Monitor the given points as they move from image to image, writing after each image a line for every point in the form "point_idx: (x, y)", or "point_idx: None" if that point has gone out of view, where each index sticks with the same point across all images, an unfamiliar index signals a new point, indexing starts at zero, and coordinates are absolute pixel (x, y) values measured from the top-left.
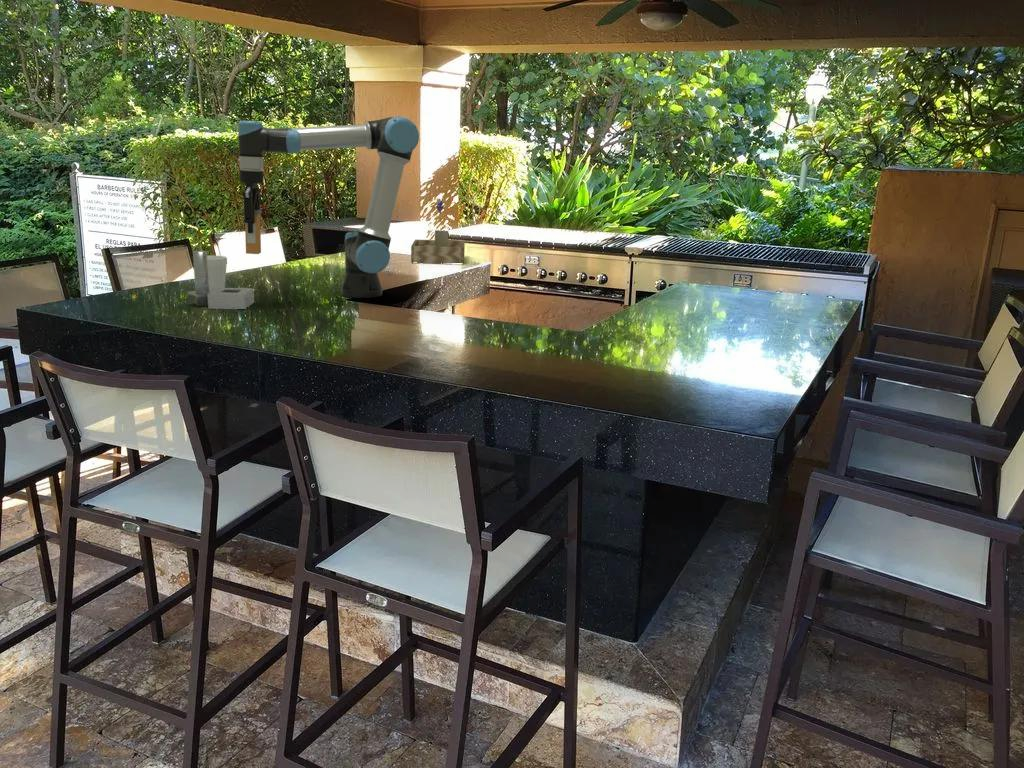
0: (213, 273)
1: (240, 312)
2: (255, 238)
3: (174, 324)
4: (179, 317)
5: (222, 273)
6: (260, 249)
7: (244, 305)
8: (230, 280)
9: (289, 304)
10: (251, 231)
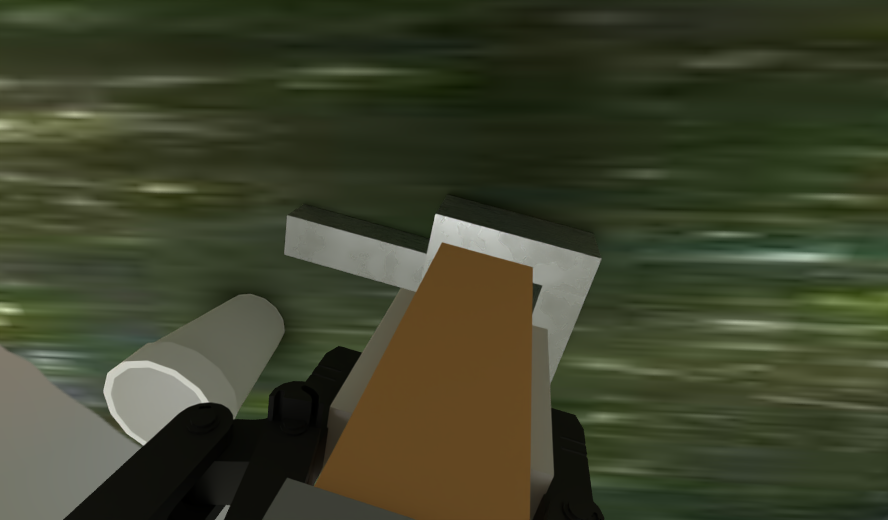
0: (248, 373)
1: (647, 251)
2: (534, 350)
3: (810, 454)
4: (687, 436)
5: (228, 340)
6: (450, 255)
7: (595, 241)
8: (4, 265)
9: (494, 32)
10: (579, 436)
